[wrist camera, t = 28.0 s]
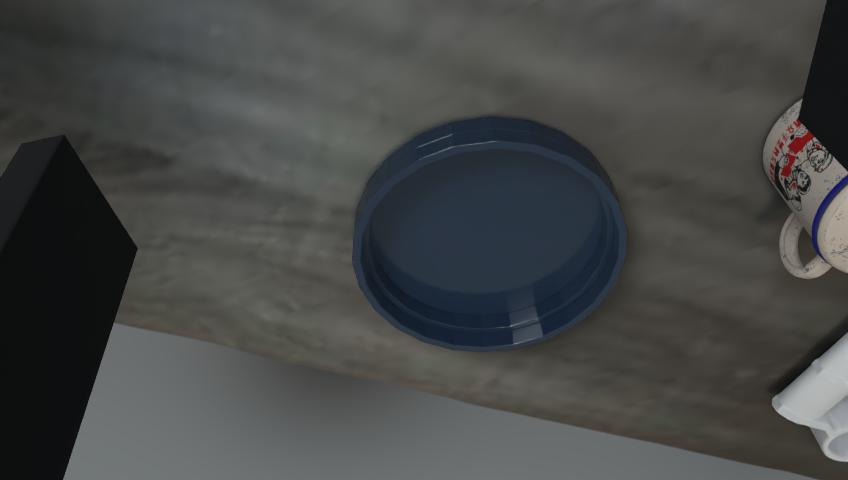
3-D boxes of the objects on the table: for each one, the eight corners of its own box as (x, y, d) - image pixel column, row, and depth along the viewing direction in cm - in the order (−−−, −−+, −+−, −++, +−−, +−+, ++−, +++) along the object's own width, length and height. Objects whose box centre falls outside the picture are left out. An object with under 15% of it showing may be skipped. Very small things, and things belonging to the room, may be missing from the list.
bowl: (382, 332, 57) (380, 362, 54) (329, 135, 45) (323, 163, 42) (612, 308, 55) (622, 338, 52) (620, 96, 43) (633, 122, 40)
